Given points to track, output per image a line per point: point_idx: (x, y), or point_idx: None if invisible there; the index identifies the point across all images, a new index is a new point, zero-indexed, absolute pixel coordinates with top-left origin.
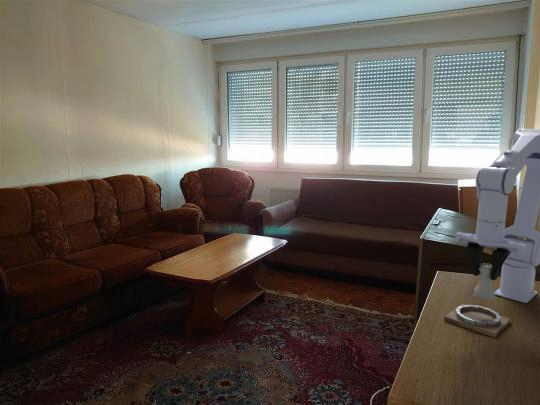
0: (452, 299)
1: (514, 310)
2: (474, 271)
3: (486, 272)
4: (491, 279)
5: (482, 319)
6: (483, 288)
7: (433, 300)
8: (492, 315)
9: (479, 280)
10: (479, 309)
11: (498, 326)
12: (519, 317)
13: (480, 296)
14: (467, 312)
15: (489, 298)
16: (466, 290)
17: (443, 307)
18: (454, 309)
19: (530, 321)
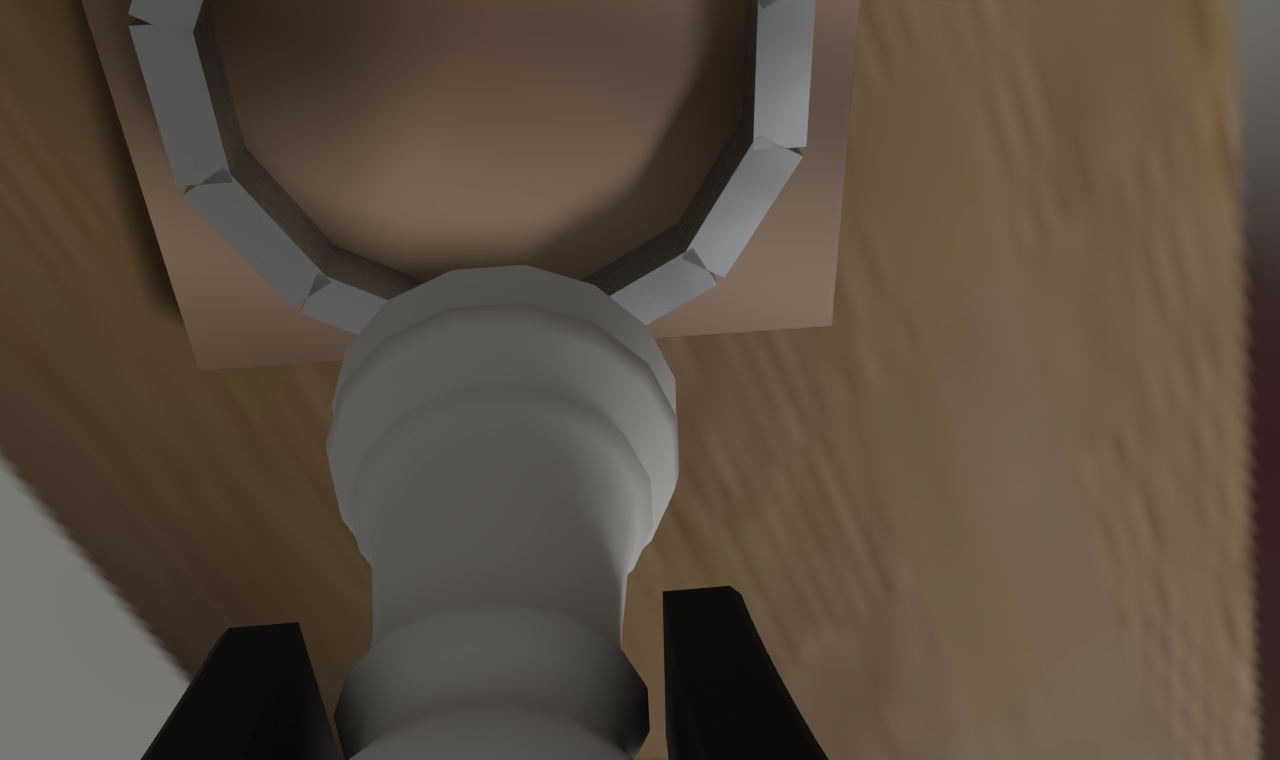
0: (990, 420)
1: (367, 629)
2: (737, 661)
3: (391, 738)
4: (283, 628)
5: (404, 56)
6: (469, 424)
7: (1194, 225)
8: (372, 267)
9: (596, 552)
10: None
11: (123, 4)
12: (236, 526)
13: (507, 303)
14: (668, 121)
15: (363, 347)
16: (932, 698)
17: (1020, 121)
18: (852, 71)
19: (108, 521)
